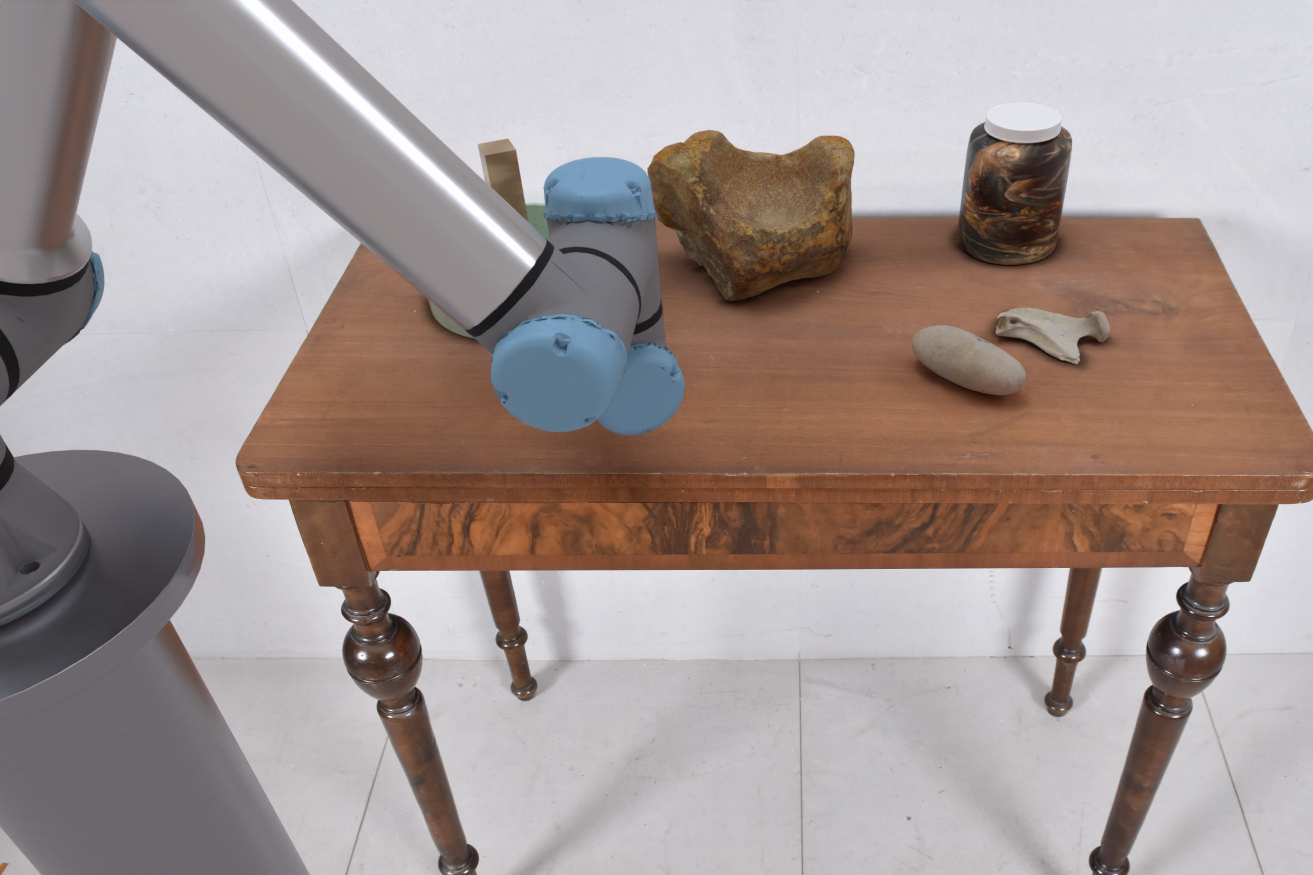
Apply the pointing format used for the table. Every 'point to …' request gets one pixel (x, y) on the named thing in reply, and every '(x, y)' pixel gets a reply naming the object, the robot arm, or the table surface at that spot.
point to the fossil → (1052, 330)
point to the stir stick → (503, 172)
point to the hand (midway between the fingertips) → (518, 206)
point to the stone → (968, 360)
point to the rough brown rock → (756, 209)
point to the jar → (1014, 184)
